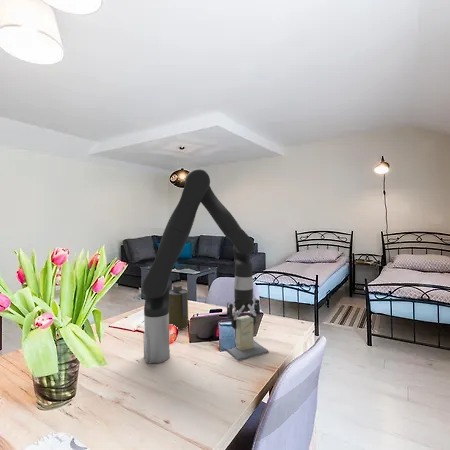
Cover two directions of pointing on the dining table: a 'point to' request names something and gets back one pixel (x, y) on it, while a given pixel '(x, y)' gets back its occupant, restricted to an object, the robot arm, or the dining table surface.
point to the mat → (247, 352)
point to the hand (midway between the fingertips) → (243, 326)
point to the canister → (178, 307)
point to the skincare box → (244, 333)
